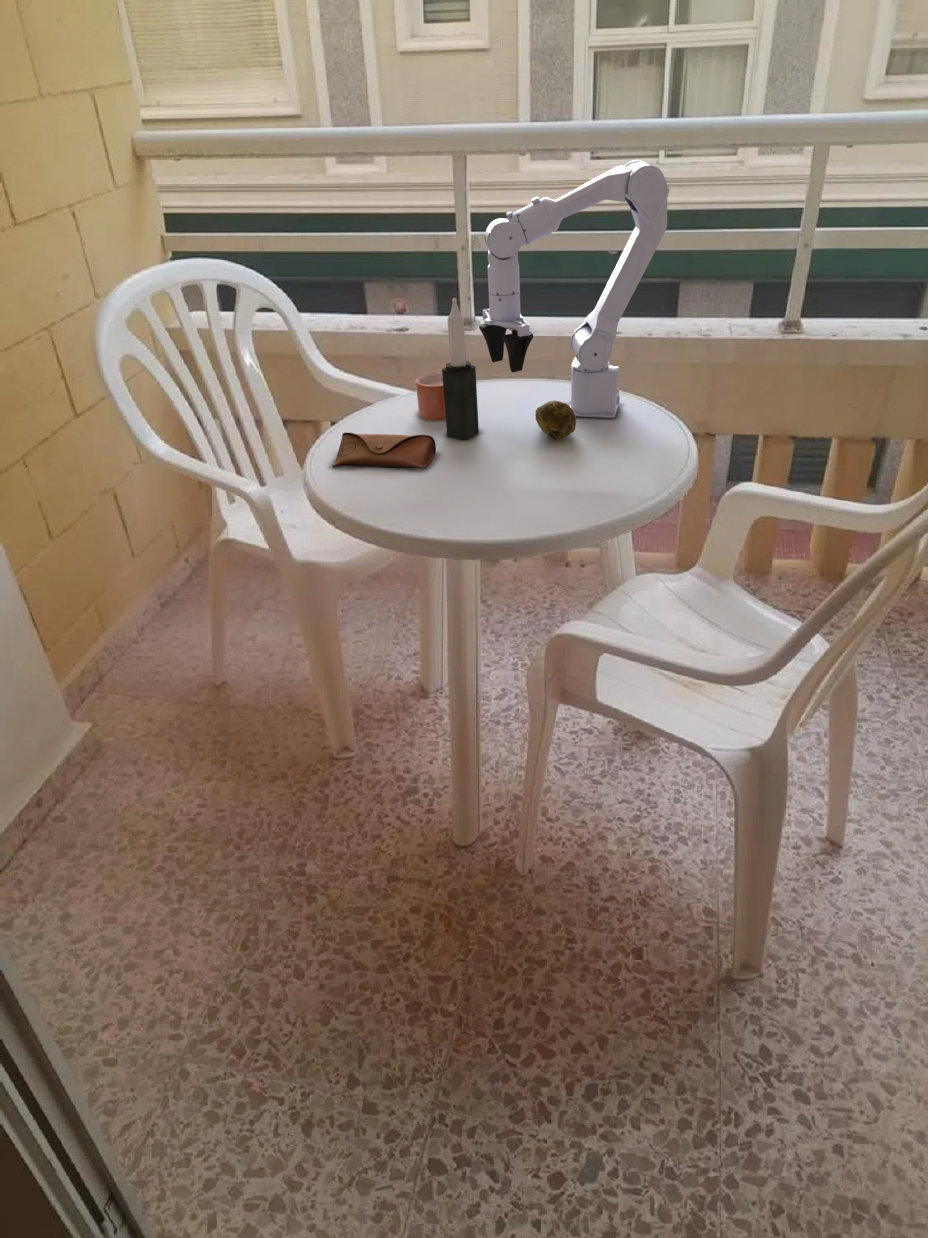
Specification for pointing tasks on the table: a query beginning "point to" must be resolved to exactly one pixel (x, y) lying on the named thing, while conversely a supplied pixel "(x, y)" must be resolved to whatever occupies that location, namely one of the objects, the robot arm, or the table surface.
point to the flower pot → (431, 396)
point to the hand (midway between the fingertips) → (506, 365)
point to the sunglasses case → (385, 451)
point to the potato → (556, 419)
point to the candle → (459, 383)
